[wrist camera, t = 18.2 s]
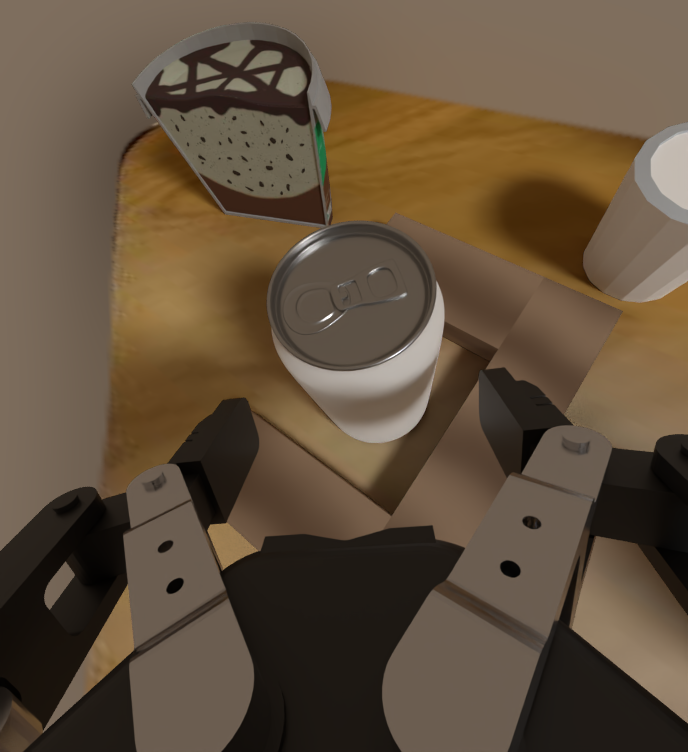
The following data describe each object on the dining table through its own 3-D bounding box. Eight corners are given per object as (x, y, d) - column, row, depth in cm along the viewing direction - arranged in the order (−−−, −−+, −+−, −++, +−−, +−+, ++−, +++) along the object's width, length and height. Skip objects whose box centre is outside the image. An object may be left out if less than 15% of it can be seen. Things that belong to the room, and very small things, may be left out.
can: (315, 364, 24) (238, 246, 13) (408, 333, 24) (409, 185, 13) (342, 458, 22) (275, 412, 11) (444, 425, 22) (485, 343, 10)
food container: (369, 170, 29) (353, 14, 20) (347, 231, 28) (318, 92, 18) (237, 157, 32) (168, 16, 23) (209, 212, 31) (123, 83, 21)
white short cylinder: (707, 309, 21) (839, 224, 15) (581, 313, 23) (653, 236, 16) (677, 216, 24) (781, 107, 17) (564, 224, 25) (621, 125, 18)
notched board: (396, 232, 27) (395, 212, 25) (604, 327, 22) (622, 311, 20) (203, 485, 23) (185, 484, 21) (407, 668, 18) (408, 687, 16)
